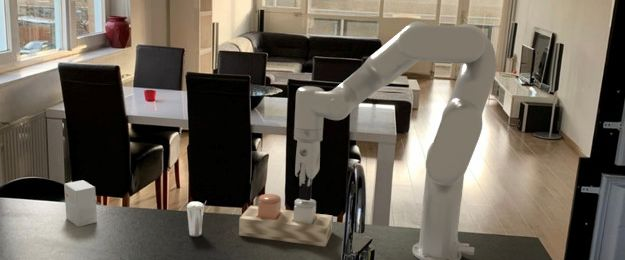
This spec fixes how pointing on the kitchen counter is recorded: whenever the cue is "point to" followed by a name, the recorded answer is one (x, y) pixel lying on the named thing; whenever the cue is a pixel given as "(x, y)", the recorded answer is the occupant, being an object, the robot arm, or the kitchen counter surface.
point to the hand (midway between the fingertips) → (304, 198)
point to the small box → (80, 203)
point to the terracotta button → (269, 206)
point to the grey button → (304, 211)
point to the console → (286, 227)
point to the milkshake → (195, 218)
